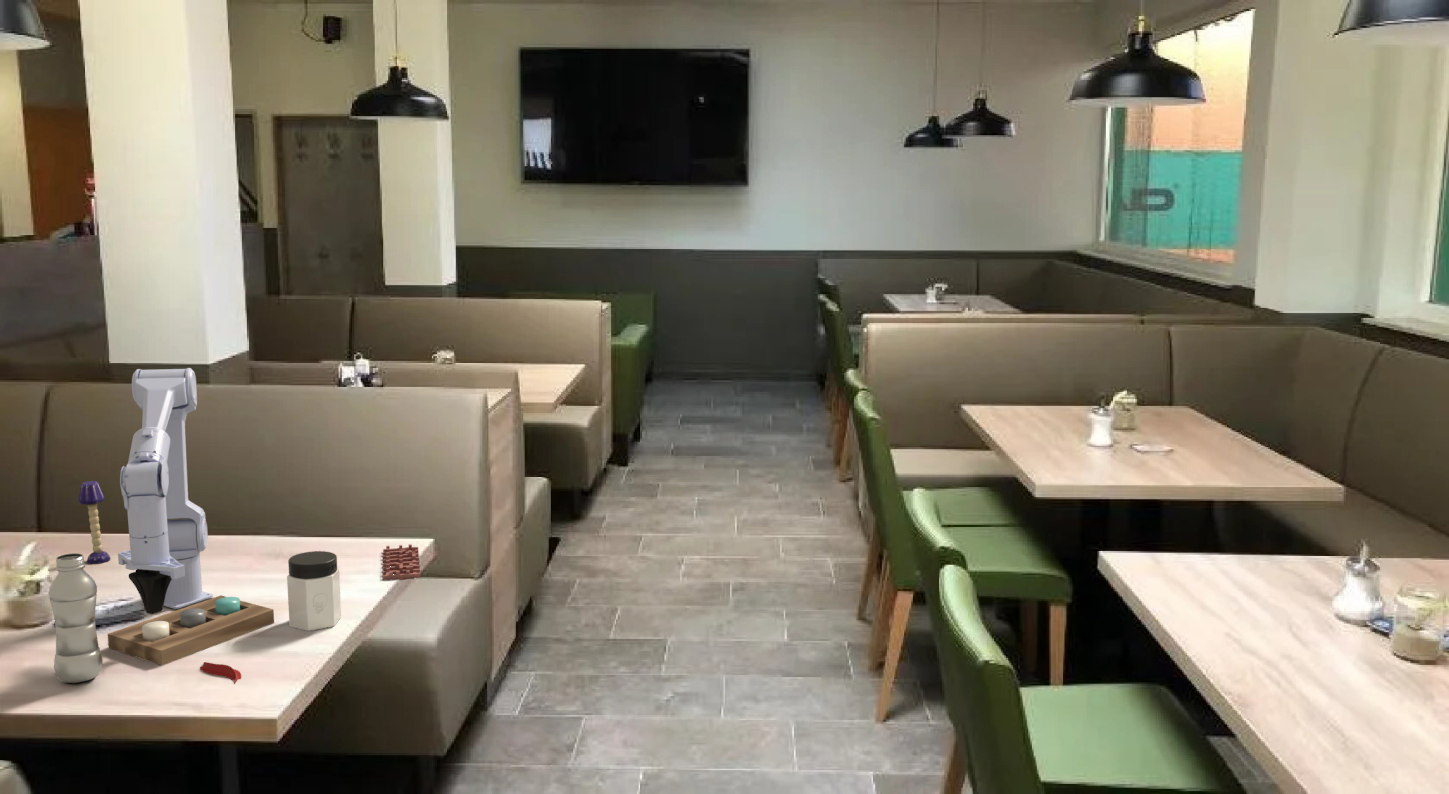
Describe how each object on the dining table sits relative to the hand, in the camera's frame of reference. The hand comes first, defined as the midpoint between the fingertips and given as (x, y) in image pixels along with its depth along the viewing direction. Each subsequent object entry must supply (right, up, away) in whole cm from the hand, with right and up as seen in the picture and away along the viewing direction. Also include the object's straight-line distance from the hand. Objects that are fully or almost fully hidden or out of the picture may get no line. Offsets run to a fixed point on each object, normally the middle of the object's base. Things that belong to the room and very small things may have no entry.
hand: (154, 611), depth 192 cm
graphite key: (+3, -4, +7) cm, 9 cm away
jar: (+22, -5, +14) cm, 26 cm away
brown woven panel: (+28, 0, +46) cm, 54 cm away
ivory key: (0, -5, +1) cm, 5 cm away
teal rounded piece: (+7, -3, +13) cm, 15 cm away
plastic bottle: (-6, -9, -11) cm, 16 cm away
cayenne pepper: (+15, -9, -8) cm, 19 cm away
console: (+3, -5, +7) cm, 9 cm away
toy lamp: (-34, +2, +46) cm, 57 cm away
